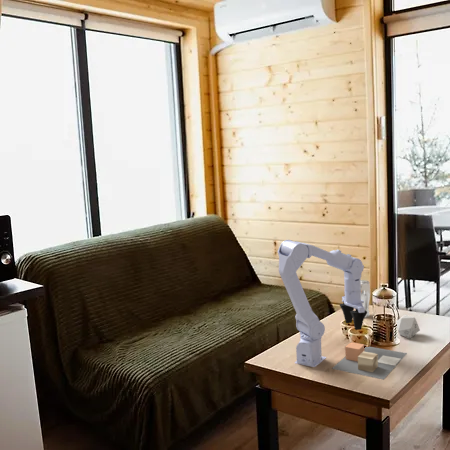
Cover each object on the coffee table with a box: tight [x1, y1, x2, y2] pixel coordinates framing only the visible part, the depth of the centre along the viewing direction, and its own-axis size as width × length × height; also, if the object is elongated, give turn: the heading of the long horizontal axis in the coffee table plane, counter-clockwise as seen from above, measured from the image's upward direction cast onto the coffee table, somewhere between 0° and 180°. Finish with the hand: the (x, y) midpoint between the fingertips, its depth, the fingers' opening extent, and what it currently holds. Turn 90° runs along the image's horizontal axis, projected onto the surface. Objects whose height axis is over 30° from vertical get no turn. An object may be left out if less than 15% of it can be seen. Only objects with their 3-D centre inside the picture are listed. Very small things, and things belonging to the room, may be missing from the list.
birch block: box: [358, 351, 378, 372], centre depth 187 cm, size 5×5×4 cm
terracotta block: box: [344, 342, 365, 361], centre depth 195 cm, size 5×5×4 cm
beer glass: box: [361, 279, 371, 319], centre depth 239 cm, size 7×7×15 cm
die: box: [395, 314, 421, 339], centre depth 214 cm, size 8×9×10 cm
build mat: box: [331, 346, 408, 381], centre depth 193 cm, size 24×18×1 cm
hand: (353, 326), depth 202 cm, fingers open, 7 cm apart
